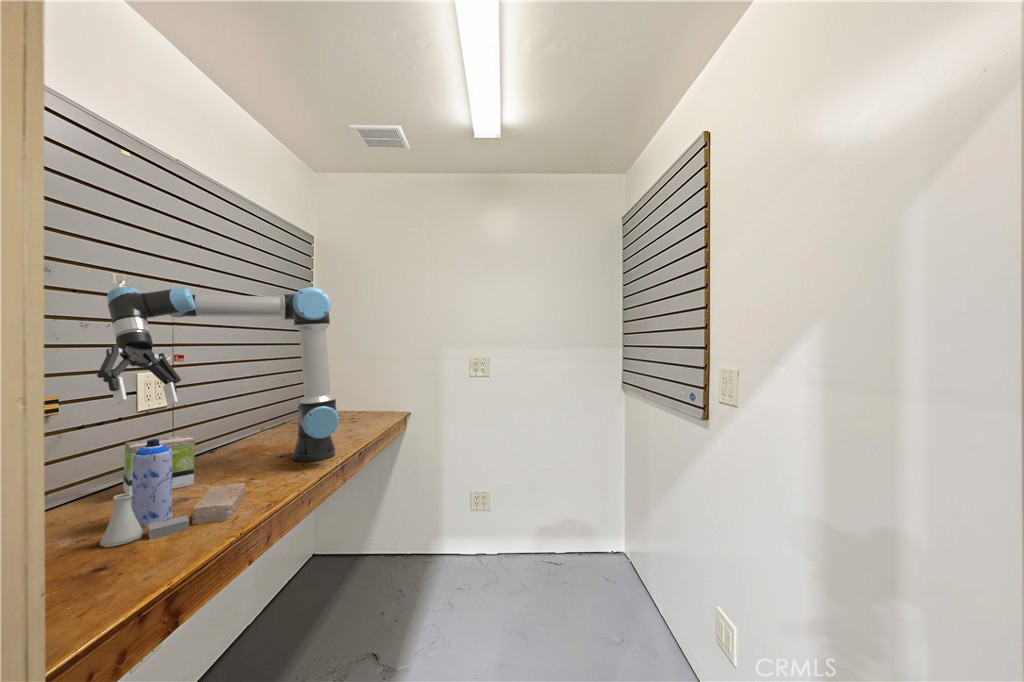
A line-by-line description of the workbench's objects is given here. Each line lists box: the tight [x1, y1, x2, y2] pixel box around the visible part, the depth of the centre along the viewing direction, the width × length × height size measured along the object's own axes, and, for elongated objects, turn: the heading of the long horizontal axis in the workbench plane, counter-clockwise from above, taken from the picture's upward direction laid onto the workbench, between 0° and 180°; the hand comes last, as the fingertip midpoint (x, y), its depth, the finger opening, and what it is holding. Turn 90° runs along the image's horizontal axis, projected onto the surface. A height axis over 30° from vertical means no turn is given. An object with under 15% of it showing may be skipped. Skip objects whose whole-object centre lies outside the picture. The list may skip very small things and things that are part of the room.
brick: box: [191, 482, 247, 526], centre depth 106 cm, size 17×8×5 cm, turn 23°
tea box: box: [122, 434, 196, 499], centre depth 122 cm, size 15×10×15 cm, turn 141°
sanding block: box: [147, 515, 190, 541], centre depth 93 cm, size 7×4×2 cm, turn 137°
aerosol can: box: [131, 438, 173, 527], centre depth 100 cm, size 8×8×20 cm
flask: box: [99, 493, 145, 548], centre depth 89 cm, size 7×7×10 cm
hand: (148, 403), depth 110 cm, fingers open, 13 cm apart
